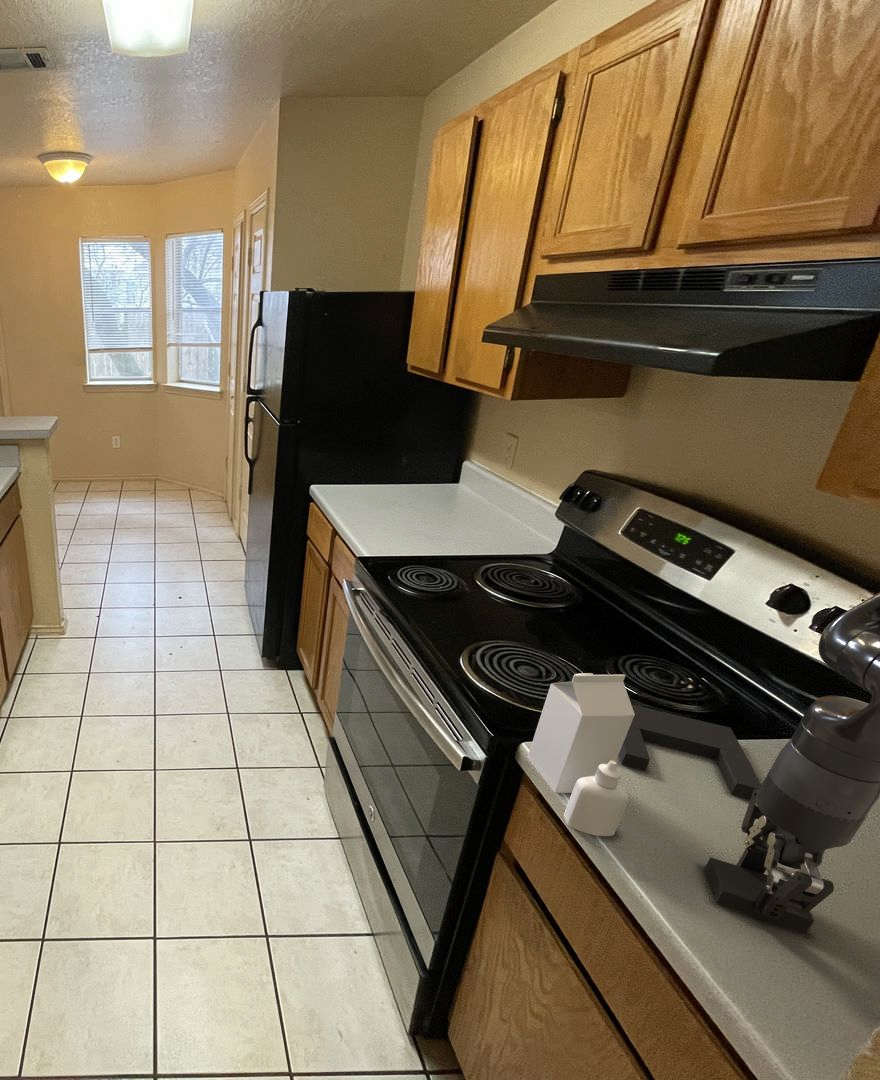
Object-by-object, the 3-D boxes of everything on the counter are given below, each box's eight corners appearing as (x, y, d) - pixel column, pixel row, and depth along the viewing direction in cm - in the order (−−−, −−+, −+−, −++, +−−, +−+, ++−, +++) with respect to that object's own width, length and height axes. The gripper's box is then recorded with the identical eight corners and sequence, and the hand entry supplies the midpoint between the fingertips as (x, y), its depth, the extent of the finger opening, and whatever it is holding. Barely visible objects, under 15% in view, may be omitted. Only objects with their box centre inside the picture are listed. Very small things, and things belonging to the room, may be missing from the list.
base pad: (723, 742, 95) (731, 727, 94) (756, 805, 84) (764, 790, 83) (604, 712, 102) (610, 699, 101) (619, 768, 91) (625, 753, 89)
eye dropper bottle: (568, 807, 84) (592, 742, 79) (615, 831, 80) (643, 765, 76) (558, 825, 81) (583, 759, 77) (607, 851, 78) (635, 783, 73)
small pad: (785, 900, 71) (795, 883, 70) (803, 937, 67) (814, 921, 66) (701, 873, 75) (709, 856, 74) (713, 907, 71) (722, 890, 69)
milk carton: (602, 796, 86) (644, 691, 78) (553, 797, 86) (591, 692, 78) (571, 759, 92) (607, 659, 85) (525, 760, 92) (557, 660, 85)
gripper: (906, 855, 56) (826, 965, 63) (834, 755, 68) (773, 857, 75) (800, 826, 59) (735, 934, 66) (749, 735, 71) (698, 834, 78)
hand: (755, 892), depth 70 cm, fingers closed on small pad, 5 cm apart
